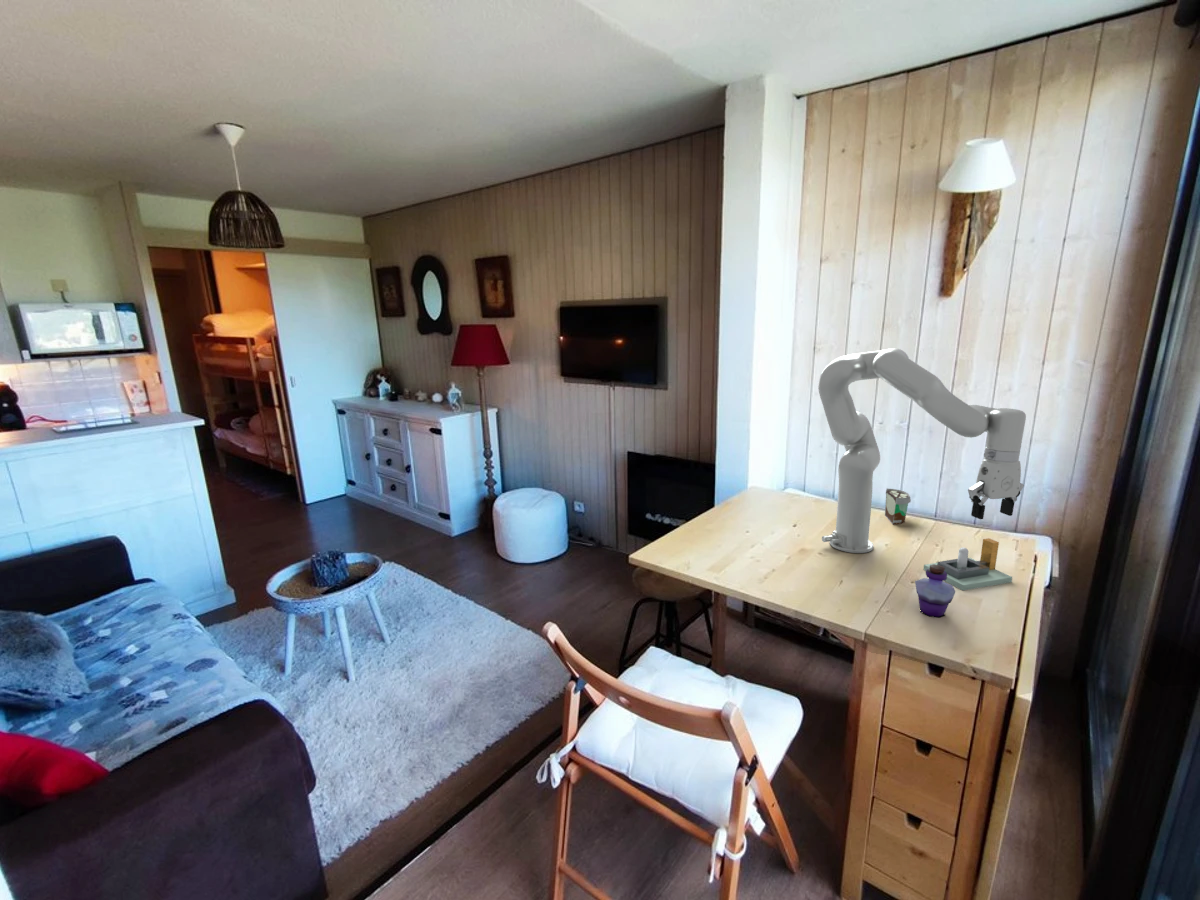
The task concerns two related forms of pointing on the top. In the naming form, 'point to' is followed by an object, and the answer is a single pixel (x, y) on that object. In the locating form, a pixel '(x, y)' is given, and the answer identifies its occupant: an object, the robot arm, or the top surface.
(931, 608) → the potion bottle
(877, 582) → the top surface
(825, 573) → the top surface
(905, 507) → the food container
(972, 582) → the plate
